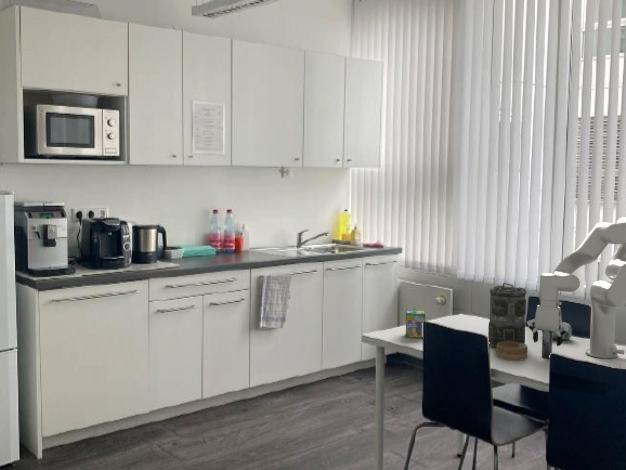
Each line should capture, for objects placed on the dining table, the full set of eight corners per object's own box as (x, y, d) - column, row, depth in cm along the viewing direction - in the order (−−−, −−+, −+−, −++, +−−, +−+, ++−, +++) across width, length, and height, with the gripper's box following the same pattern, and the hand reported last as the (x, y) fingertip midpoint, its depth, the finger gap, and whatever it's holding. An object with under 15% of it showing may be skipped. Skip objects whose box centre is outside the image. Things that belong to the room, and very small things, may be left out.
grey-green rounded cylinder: (577, 331, 327) (569, 314, 324) (572, 344, 321) (564, 326, 318) (548, 334, 336) (541, 317, 333) (543, 346, 329) (536, 329, 326)
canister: (481, 343, 318) (482, 281, 316) (510, 340, 324) (511, 279, 321) (502, 351, 304) (503, 287, 301) (532, 348, 309) (534, 285, 307)
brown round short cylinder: (530, 355, 297) (531, 344, 296) (520, 361, 287) (520, 349, 287) (503, 351, 304) (504, 339, 304) (492, 357, 295) (492, 345, 294)
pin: (553, 357, 295) (554, 324, 294) (549, 359, 292) (550, 325, 291) (543, 355, 297) (544, 322, 296) (540, 357, 294) (541, 324, 293)
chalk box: (425, 338, 327) (425, 307, 325) (405, 337, 328) (405, 306, 327) (425, 334, 336) (425, 303, 334) (405, 333, 337) (406, 302, 336)
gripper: (572, 304, 290) (571, 345, 292) (531, 299, 301) (530, 338, 302) (566, 307, 284) (565, 348, 286) (524, 302, 295) (523, 342, 296)
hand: (547, 343), depth 294 cm, fingers open, 9 cm apart
